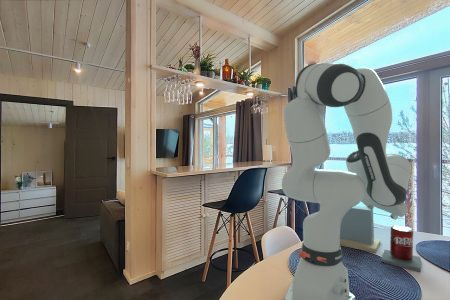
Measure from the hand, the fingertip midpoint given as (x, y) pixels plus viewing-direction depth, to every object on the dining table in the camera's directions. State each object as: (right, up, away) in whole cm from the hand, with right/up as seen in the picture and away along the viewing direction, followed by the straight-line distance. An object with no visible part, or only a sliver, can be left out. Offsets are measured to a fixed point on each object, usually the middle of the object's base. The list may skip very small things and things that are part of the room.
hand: (382, 212), depth 90 cm
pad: (+10, -20, +3) cm, 23 cm away
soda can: (+10, -19, +3) cm, 22 cm away
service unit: (+3, -21, +23) cm, 31 cm away
